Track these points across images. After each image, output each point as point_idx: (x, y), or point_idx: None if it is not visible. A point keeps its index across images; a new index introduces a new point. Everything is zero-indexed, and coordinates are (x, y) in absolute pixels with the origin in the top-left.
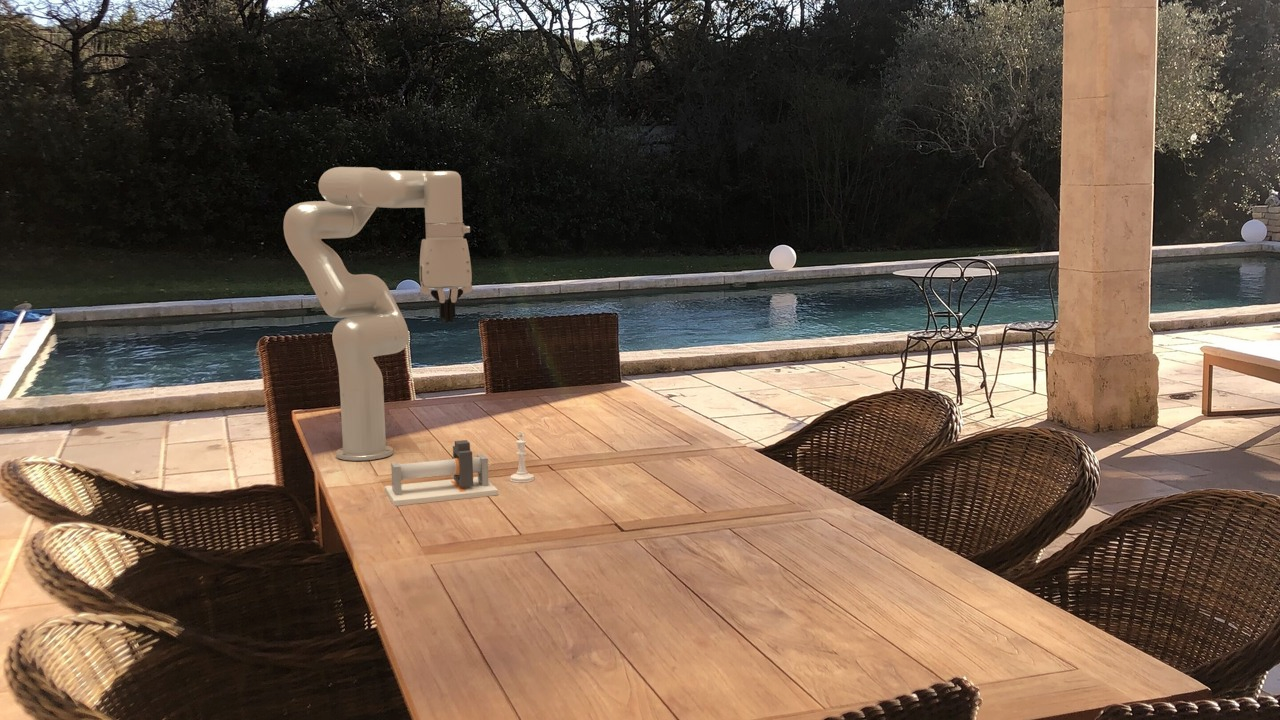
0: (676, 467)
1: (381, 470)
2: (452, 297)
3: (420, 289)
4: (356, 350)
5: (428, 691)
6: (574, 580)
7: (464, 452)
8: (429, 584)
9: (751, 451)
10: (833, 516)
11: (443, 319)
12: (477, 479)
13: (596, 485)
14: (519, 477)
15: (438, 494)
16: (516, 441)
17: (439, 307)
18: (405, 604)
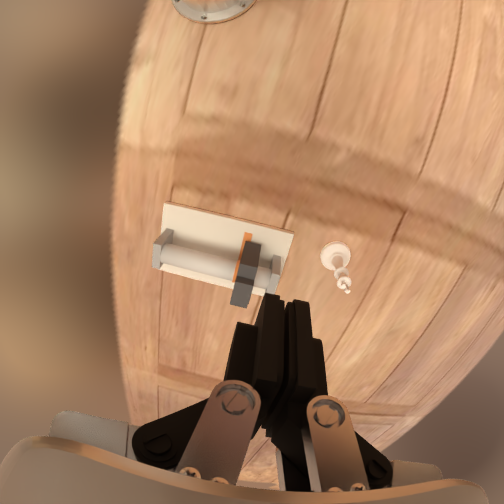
0: (467, 305)
1: (198, 87)
2: (285, 463)
3: (54, 435)
4: None
5: None
6: None
7: (236, 304)
8: (152, 400)
9: None
10: (400, 424)
11: (257, 322)
12: (278, 244)
13: (374, 319)
14: (326, 265)
15: (207, 276)
16: (338, 280)
17: (227, 368)
18: (138, 406)
